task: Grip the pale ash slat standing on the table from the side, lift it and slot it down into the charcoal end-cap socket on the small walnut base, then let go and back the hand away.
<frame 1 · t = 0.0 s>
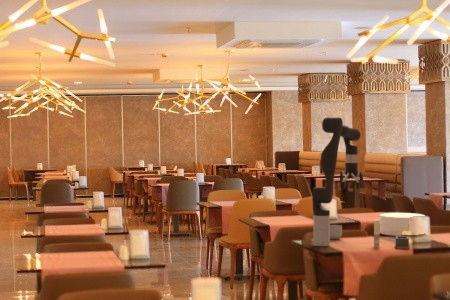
hand: (351, 188, 555), 29 cm above the table, tool pointing down, fingers open, 8 cm apart
plate stack: (402, 233, 571), on the table
end cap board: (402, 247, 509), on the table
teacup: (334, 238, 545), on the table
slat: (376, 246, 511), on the table
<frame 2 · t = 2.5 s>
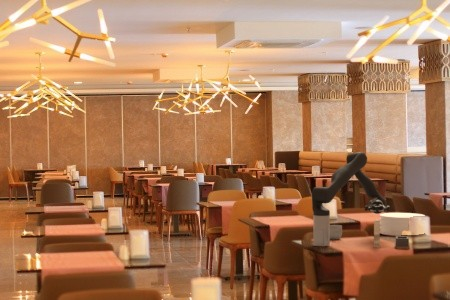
hand: (377, 209, 521), 20 cm above the table, tool horizontal, fingers open, 8 cm apart
nothing on the table moved.
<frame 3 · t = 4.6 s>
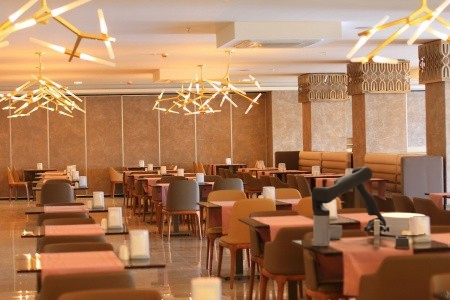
hand: (376, 230, 517), 8 cm above the table, tool horizontal, fingers open, 8 cm apart
nothing on the table moved.
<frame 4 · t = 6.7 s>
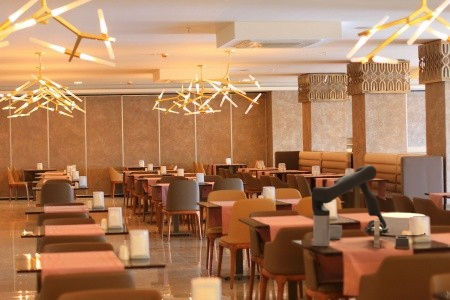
hand: (376, 232, 508), 9 cm above the table, tool horizontal, fingers closed on slat, 3 cm apart
slat: (376, 246, 511), on the table, touching gripper
everything else where it was.
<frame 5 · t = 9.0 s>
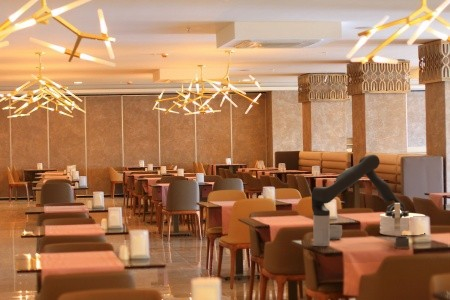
hand: (397, 215, 506), 18 cm above the table, tool horizontal, fingers closed on slat, 3 cm apart
slat: (397, 230, 510), point 10 cm above the table, touching gripper
everything else where it was.
when the fingers open (11 cm above the table, at t = 11.1 s): slat drops 1 cm, resting on end cap board.
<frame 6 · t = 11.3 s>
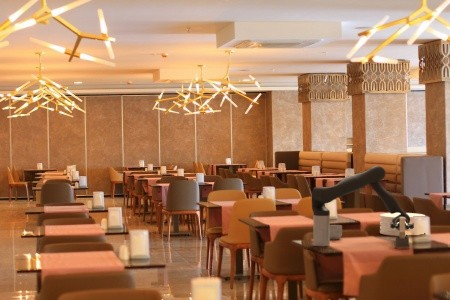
hand: (402, 227, 506), 11 cm above the table, tool horizontal, fingers open, 5 cm apart
slat: (402, 244, 508), point 2 cm above the table, touching end cap board
everything else where it was.
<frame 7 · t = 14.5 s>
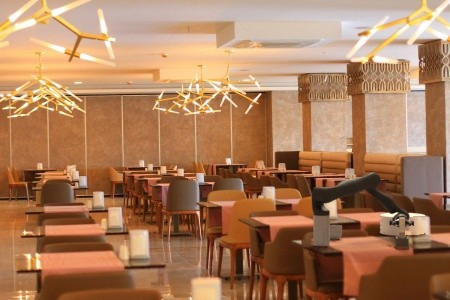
hand: (402, 224, 519), 12 cm above the table, tool horizontal, fingers open, 8 cm apart
nothing on the table moved.
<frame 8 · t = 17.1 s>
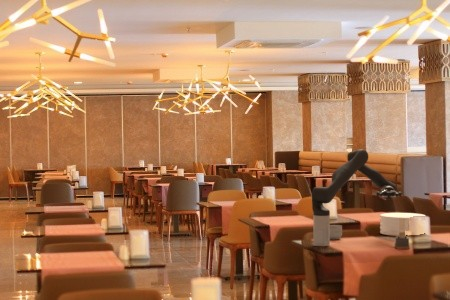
hand: (389, 195, 523), 28 cm above the table, tool horizontal, fingers open, 8 cm apart
nothing on the table moved.
at the end: slat 0.1 cm off-centre on the end cap board, point 1.5 cm above the end cap board's base; slat tilted 0°; the gripper is holding nothing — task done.
